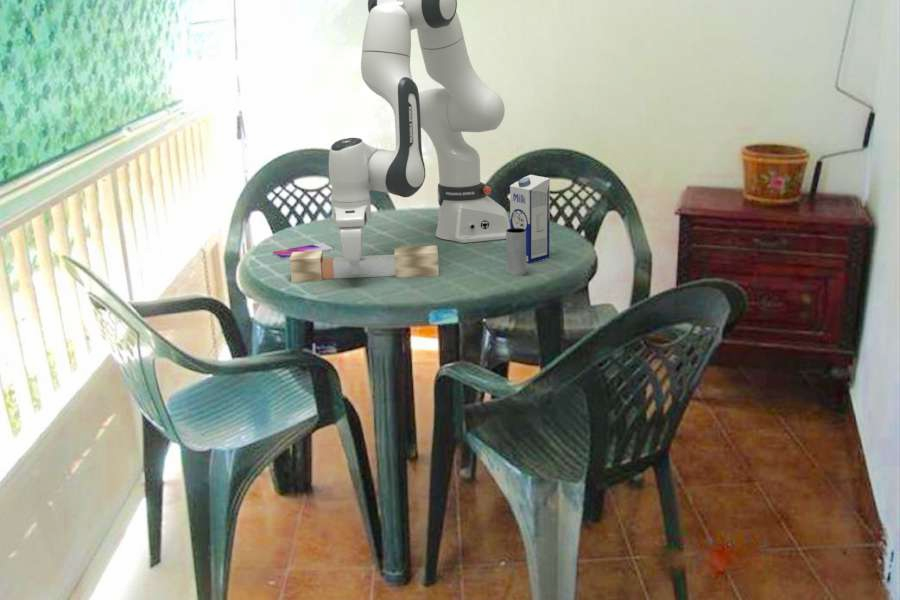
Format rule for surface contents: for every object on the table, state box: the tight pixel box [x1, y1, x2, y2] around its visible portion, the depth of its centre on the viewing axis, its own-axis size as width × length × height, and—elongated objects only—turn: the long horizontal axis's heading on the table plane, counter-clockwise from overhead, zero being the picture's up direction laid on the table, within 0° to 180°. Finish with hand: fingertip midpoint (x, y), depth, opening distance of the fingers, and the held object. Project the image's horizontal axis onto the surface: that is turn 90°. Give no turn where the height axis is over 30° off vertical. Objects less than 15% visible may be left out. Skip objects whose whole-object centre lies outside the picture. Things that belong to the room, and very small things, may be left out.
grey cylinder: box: [505, 228, 527, 276], centre depth 194 cm, size 4×4×10 cm
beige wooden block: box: [288, 251, 324, 283], centre depth 196 cm, size 7×6×6 cm
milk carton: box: [509, 174, 551, 264], centre depth 204 cm, size 7×7×20 cm
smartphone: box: [272, 242, 336, 260], centre depth 219 cm, size 7×1×15 cm
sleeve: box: [393, 245, 440, 278], centre depth 197 cm, size 10×6×6 cm, turn 94°
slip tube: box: [321, 254, 396, 280], centre depth 197 cm, size 26×4×4 cm, turn 94°
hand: (355, 268), depth 197 cm, fingers open, 4 cm apart
